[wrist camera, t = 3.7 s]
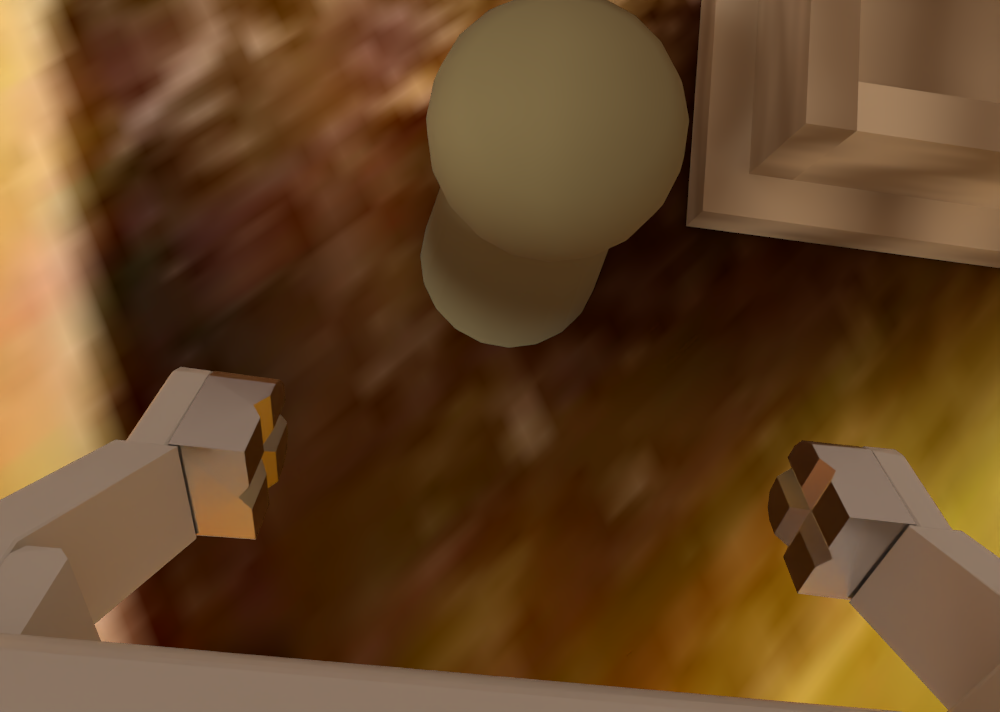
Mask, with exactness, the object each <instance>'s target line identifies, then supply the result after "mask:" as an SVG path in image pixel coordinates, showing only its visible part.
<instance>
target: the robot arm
mask: <svg viewBox="0 0 1000 712" xmlns="http://www.w3.org/2000/svg"><path fill="white" fill-rule="evenodd" d="M284 403H285V391H284V384H283V383H282V382H281V381H280V380H276V379H269V378H262V377H255V376H248V375H240V374H233V373H226V372H219V371H214V372H212V371H207V370H200V369H192V368H185V367H180V368H178V369H176V370H175V371H173V372H172V373H171V375H170V376H169V378H168V379H167V380H166V382H165V383H164V385H163V386H162V388H161V389H160V391H159V392H158V394H157V395H156V397H155V398H154V400H153V401H152V403H151V404H150V406H149V407H148V409H147V410H146V412H145V413H144V415H143V416H142V418H141V419H140V421H139V422H138V424H137V425H136V427H135V428H134V430H133V431H132V433H131V434H130V436H129V437H128V439H127V440H126V441H122V440H114V441H112V442H110V443H108V444H106V445H105V446H103V447H101V448H99V449H97V450H95V451H93V452H91V453H89V454H87V455H85V456H84V457H82V458H80V459H78V460H76V461H74V462H72V463H70V464H68V465H66V466H64V467H62V468H61V469H59V470H57V471H55V472H53V473H51V474H49V475H47V476H45V477H43V478H41V479H39V480H38V481H36V482H34V483H32V484H30V485H28V486H26V487H24V488H22V489H20V490H18V491H17V492H15V493H13V494H11V495H9V496H7V497H5V498H3V499H1V500H0V712H900V711H888V710H877V709H865V708H854V707H843V706H831V705H819V704H808V703H796V702H785V701H773V700H762V699H750V698H738V697H727V696H715V695H704V694H692V693H681V692H669V691H657V690H646V689H634V688H623V687H612V686H600V685H589V684H578V683H567V682H555V681H544V680H533V679H522V678H510V677H499V676H488V675H477V674H465V673H454V672H443V671H431V670H420V669H409V668H397V667H386V666H374V665H363V664H352V663H340V662H329V661H318V660H306V659H295V658H283V657H272V656H261V655H249V654H238V653H227V652H215V651H204V650H192V649H181V648H170V647H158V646H147V645H135V644H124V643H113V642H101V640H100V638H99V635H98V633H97V630H96V628H95V625H94V624H95V623H96V622H98V621H99V620H100V619H101V618H102V617H104V616H105V615H106V614H107V613H108V612H109V611H111V610H112V609H113V608H114V607H115V606H117V605H118V604H119V603H120V602H121V601H123V600H124V599H125V598H126V597H127V596H128V595H130V594H131V593H132V592H133V591H134V590H136V589H137V588H138V587H139V586H140V585H142V584H143V583H144V582H145V581H146V580H147V579H149V578H150V577H151V576H152V575H153V574H155V573H156V572H157V571H158V570H159V569H161V568H162V567H163V566H164V565H165V564H166V563H168V562H169V561H170V560H171V559H172V558H174V557H175V556H176V555H177V554H178V553H180V552H181V551H182V550H183V549H184V548H185V547H187V546H188V545H189V544H190V543H191V542H193V541H194V540H195V539H196V535H203V536H217V537H231V538H245V539H256V537H257V534H258V532H259V529H260V527H261V524H262V521H263V519H264V516H265V514H266V511H267V509H268V506H269V496H268V488H269V487H270V486H272V485H273V484H275V483H276V482H277V481H278V480H279V477H280V474H281V471H282V468H283V465H284V460H285V455H286V450H287V439H288V429H287V422H286V420H285V419H284V418H283V417H282V416H281V415H280V413H281V410H282V408H283V405H284ZM788 459H789V462H790V465H791V469H789V470H788V471H786V472H784V473H783V474H781V475H779V476H778V477H777V478H776V480H775V482H774V484H773V486H772V488H771V490H770V494H769V502H768V512H769V520H770V523H771V526H772V528H773V531H774V534H775V535H777V536H778V537H779V538H780V539H781V540H782V541H783V542H784V543H785V544H786V545H787V546H788V548H787V550H786V552H785V554H784V560H785V562H786V565H787V568H788V570H789V573H790V575H791V578H792V580H793V583H794V585H795V588H796V590H797V593H800V594H808V595H816V596H824V597H831V598H839V599H847V600H851V601H850V602H849V603H850V604H851V605H852V606H853V607H854V608H855V609H856V610H857V611H858V612H859V613H860V614H861V616H862V617H863V618H864V619H865V620H866V621H867V622H868V623H869V624H870V625H871V626H872V627H873V629H874V630H875V631H876V632H877V633H878V634H879V635H880V636H881V637H882V638H883V639H884V640H885V642H886V643H887V644H888V645H889V646H890V647H891V648H892V649H893V650H894V651H895V652H896V654H897V655H898V656H899V657H900V658H901V659H902V660H903V661H904V662H905V663H906V664H907V665H908V667H909V668H910V669H911V670H912V671H913V672H914V673H915V674H916V675H917V676H918V677H919V678H920V680H921V681H922V682H923V683H924V684H925V685H926V686H927V687H928V688H929V689H930V690H931V691H932V693H933V694H934V695H935V696H936V697H937V698H938V699H939V700H940V701H941V702H942V703H943V705H944V706H945V707H946V708H947V709H948V711H947V712H1000V558H999V557H997V556H996V555H994V554H993V553H992V552H990V551H989V550H988V549H986V548H985V547H983V546H982V545H981V544H979V543H978V542H976V541H975V540H974V539H972V538H971V537H969V536H968V535H967V534H965V533H964V532H963V531H957V530H952V529H951V527H950V526H949V524H948V523H947V521H946V520H945V518H944V517H943V515H942V513H941V512H940V510H939V509H938V507H937V506H936V504H935V503H934V501H933V500H932V498H931V497H930V495H929V494H928V492H927V491H926V489H925V488H924V486H923V485H922V483H921V482H920V480H919V478H918V477H917V475H916V474H915V472H914V471H913V469H912V468H911V466H910V465H909V463H908V462H907V460H906V459H905V457H904V456H903V455H902V454H901V453H899V452H898V451H896V450H895V449H885V448H875V447H858V446H850V445H840V444H831V443H822V442H813V441H803V440H802V441H801V442H799V443H798V444H797V445H795V446H794V448H793V450H792V451H791V453H790V455H789V456H788Z"/></svg>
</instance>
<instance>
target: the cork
mask: <svg viewBox="0 0 1000 712" xmlns="http://www.w3.org/2000/svg"><path fill="white" fill-rule="evenodd" d="M426 122H427V134H428V141H429V149H430V156H431V164H432V170H433V173H434V175H435V177H436V179H437V181H438V183H439V185H440V190H439V193H438V195H437V198H436V201H435V204H434V207H433V210H432V213H431V216H430V218H429V221H428V224H427V227H426V230H425V235H424V240H423V245H422V250H421V255H420V257H421V264H422V272H423V280H424V284H425V286H426V289H427V291H428V293H429V295H430V297H431V299H432V301H433V303H434V305H435V307H436V309H437V310H438V311H439V312H440V313H441V314H442V315H443V316H444V317H445V318H446V319H447V320H448V321H449V322H450V323H451V324H452V326H453V327H454V328H455V329H457V330H459V331H461V332H462V333H464V334H466V335H468V336H470V337H472V338H474V339H475V340H477V341H479V342H481V343H487V344H492V345H497V346H503V347H508V348H510V347H518V346H525V345H533V344H538V343H540V342H542V341H544V340H546V339H548V338H550V337H553V336H555V335H557V334H559V333H561V332H562V331H563V330H564V329H565V328H566V327H568V326H569V325H570V324H571V323H572V322H573V321H574V320H575V319H576V318H577V317H578V316H579V315H580V314H581V313H582V311H583V309H584V307H585V305H586V303H587V301H588V299H589V297H590V296H591V294H592V292H593V290H594V287H595V284H596V282H597V279H598V276H599V274H600V271H601V268H602V266H603V263H604V260H605V257H606V255H607V252H608V249H609V248H611V247H613V246H616V245H618V244H620V243H622V242H624V241H626V240H627V239H628V238H629V237H631V236H632V235H633V234H634V233H635V232H636V231H637V230H638V229H639V228H640V227H641V226H642V225H643V224H644V223H645V222H646V221H647V220H648V219H649V218H651V217H652V216H653V215H654V214H655V213H656V212H657V211H658V209H659V208H660V207H661V206H662V205H663V204H664V202H665V200H666V198H667V196H668V194H669V192H670V190H671V188H672V186H673V184H674V182H675V180H676V178H677V177H678V175H679V173H680V170H681V166H682V163H683V159H684V153H685V146H686V139H687V132H688V125H689V116H688V111H687V105H686V100H685V94H684V89H683V84H682V81H681V79H680V77H679V75H678V72H677V71H676V69H675V67H674V65H673V63H672V61H671V59H670V57H669V56H668V54H667V52H666V50H665V48H664V46H663V44H662V43H661V41H660V40H659V39H658V38H657V37H656V36H655V35H654V34H653V33H652V32H651V31H650V30H649V29H648V28H647V27H646V26H645V25H644V24H643V23H642V22H641V21H640V20H639V19H638V18H637V17H636V16H635V15H633V14H631V13H629V12H628V11H626V10H624V9H622V8H620V7H619V6H617V5H615V4H613V3H611V2H609V1H608V0H513V1H510V2H508V3H505V4H503V5H500V6H498V7H496V8H493V9H491V10H489V11H488V12H486V13H485V14H484V15H483V16H482V17H480V18H479V19H478V20H477V21H476V22H474V23H473V24H472V25H471V26H470V27H468V28H467V29H466V30H465V31H464V32H462V33H461V34H460V35H459V37H458V38H457V40H456V42H455V43H454V45H453V47H452V48H451V50H450V52H449V53H448V55H447V57H446V58H445V60H444V62H443V63H442V65H441V67H440V69H439V71H438V73H437V75H436V77H435V79H434V83H433V88H432V93H431V97H430V102H429V107H428V112H427V117H426Z"/></svg>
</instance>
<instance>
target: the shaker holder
mask: <svg viewBox="0 0 1000 712" xmlns="http://www.w3.org/2000/svg"><path fill="white" fill-rule="evenodd" d="M686 226H690V227H697V228H705V229H712V230H720V231H727V232H735V233H742V234H750V235H757V236H764V237H772V238H779V239H787V240H794V241H802V242H809V243H817V244H824V245H831V246H839V247H846V248H854V249H861V250H869V251H876V252H884V253H891V254H898V255H906V256H913V257H921V258H928V259H936V260H943V261H951V262H958V263H965V264H973V265H980V266H988V267H995V268H1000V0H702V1H701V15H700V30H699V44H698V59H697V74H696V88H695V103H694V117H693V132H692V147H691V161H690V176H689V190H688V205H687V220H686Z"/></svg>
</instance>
